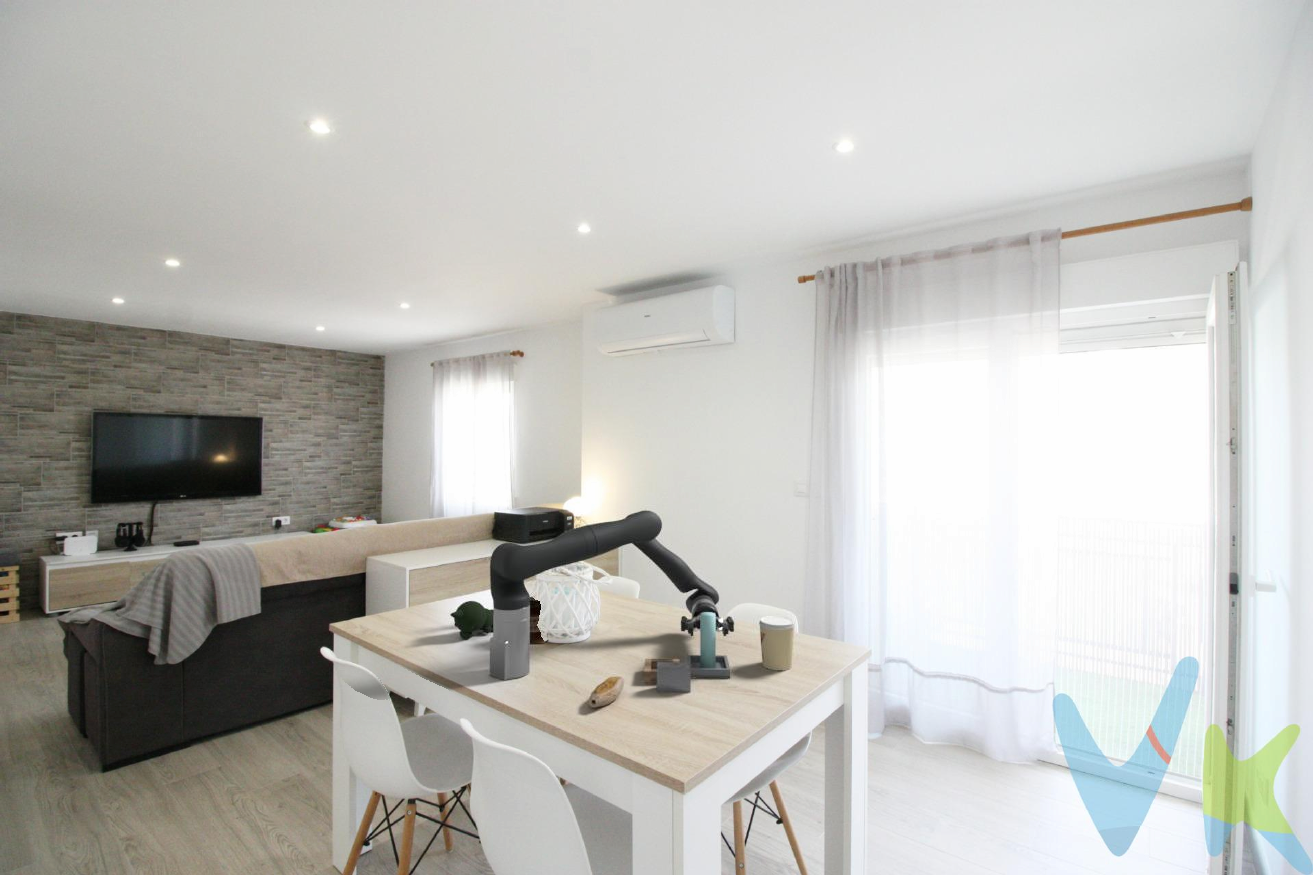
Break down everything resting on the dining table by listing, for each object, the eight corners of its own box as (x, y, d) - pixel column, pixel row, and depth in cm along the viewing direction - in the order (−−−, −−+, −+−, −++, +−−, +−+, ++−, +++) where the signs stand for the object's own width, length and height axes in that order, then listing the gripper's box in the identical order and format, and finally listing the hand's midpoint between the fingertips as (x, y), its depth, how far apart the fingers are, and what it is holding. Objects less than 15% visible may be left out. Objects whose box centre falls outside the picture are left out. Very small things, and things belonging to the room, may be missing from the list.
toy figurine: (498, 627, 201) (437, 640, 180) (502, 569, 203) (442, 576, 182) (519, 631, 197) (459, 645, 175) (523, 572, 199) (464, 579, 177)
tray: (730, 677, 152) (730, 669, 152) (688, 677, 152) (688, 669, 152) (726, 663, 163) (726, 655, 163) (687, 662, 163) (687, 654, 163)
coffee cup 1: (545, 646, 176) (545, 602, 177) (519, 644, 178) (519, 600, 178) (556, 637, 185) (556, 595, 185) (531, 635, 187) (531, 593, 187)
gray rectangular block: (690, 692, 143) (690, 666, 143) (657, 691, 143) (657, 666, 143) (690, 687, 146) (690, 662, 146) (657, 686, 146) (657, 661, 146)
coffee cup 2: (764, 657, 167) (764, 614, 167) (798, 662, 163) (798, 618, 163) (755, 668, 159) (754, 622, 159) (790, 674, 155) (789, 627, 155)
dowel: (710, 671, 155) (710, 617, 155) (697, 668, 157) (697, 614, 157) (718, 667, 158) (718, 613, 158) (705, 663, 160) (705, 611, 160)
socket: (679, 683, 148) (679, 671, 148) (643, 683, 148) (643, 671, 148) (679, 670, 157) (679, 658, 157) (645, 670, 157) (645, 658, 157)
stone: (581, 710, 133) (581, 690, 133) (611, 687, 146) (612, 669, 146) (601, 714, 131) (602, 694, 131) (631, 691, 144) (631, 673, 144)
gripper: (680, 601, 172) (681, 617, 156) (730, 601, 172) (736, 617, 156) (680, 627, 172) (681, 646, 156) (730, 628, 172) (736, 646, 155)
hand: (708, 631), depth 156 cm, fingers open, 8 cm apart
